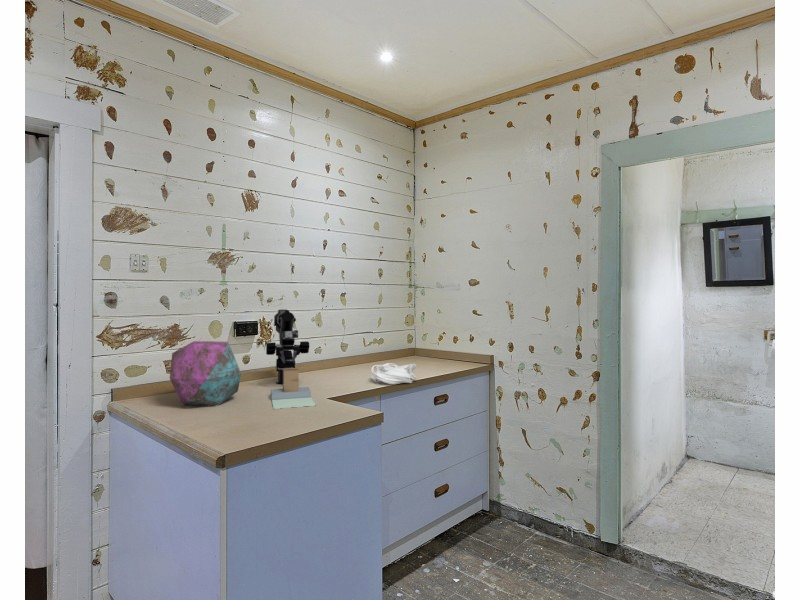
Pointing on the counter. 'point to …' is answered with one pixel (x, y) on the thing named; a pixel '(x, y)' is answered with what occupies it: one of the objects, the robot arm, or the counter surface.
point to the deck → (290, 394)
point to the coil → (393, 373)
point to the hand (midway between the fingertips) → (289, 363)
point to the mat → (292, 403)
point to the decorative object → (205, 373)
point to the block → (290, 380)
